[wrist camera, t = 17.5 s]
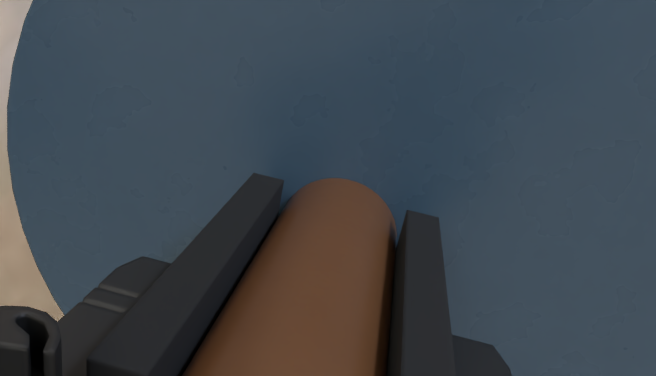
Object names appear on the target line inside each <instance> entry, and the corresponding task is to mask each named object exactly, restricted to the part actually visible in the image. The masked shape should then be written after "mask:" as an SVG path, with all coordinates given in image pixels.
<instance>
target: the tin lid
mask: <svg viewBox="0 0 656 376" xmlns="http://www.w3.org/2000/svg"><path fill="white" fill-rule="evenodd" d="M7 150H8V157H9V165H10V173H11V180H12V188H13V193H14V197H15V201H16V205H17V208H18V212H19V216H20V220H21V224H22V228H23V231H24V234H25V236H26V239H27V241H28V244H29V247H30V249H31V252H32V254H33V257H34V260H35V262H36V265H37V267H38V269H39V271H40V273H41V275H42V277H43V279H44V281H45V282H46V284H47V286H48V288H49V290H50V292H51V294H52V296H53V298H54V300H55V301H56V303H57V304H58V306H59V307H60V309H61V311H62V312H63V314H64V315H66V314H67V313H68V312H69V311H70V310H71V309H72V308H73V307H74V306H75V305H77V304H78V303H79V302H82V301H83V298H84V297H85V296H86V295H87V294H89V293H90V292H91V291H92V290H93V289H94V288H95V287H96V288H98V286H99V283H101V282H102V281H103V280H104V279H105V278H106V277H107V276H108V275H109V274H110V273H111V272H113V271H114V270H115V269H116V268H117V267H119V266H121V265H123V264H126V263H128V262H130V261H133V260H135V259H137V258H139V257H142V256H144V257H148V258H152V259H156V260H160V261H164V262H168V263H171V264H172V263H173V262H174V261H175V259H176V258H177V257H178V256H179V255H180V254H181V253H182V252H183V251H184V249H185V248H186V247H187V246H188V245H189V244H190V243H191V242H192V241H193V239H194V238H195V237H196V236H197V235H198V234H199V233H200V232H201V231H202V229H203V228H204V227H205V226H206V225H207V224H208V223H209V222H210V221H211V219H212V218H213V217H214V216H215V215H216V214H217V213H218V212H219V211H220V209H221V208H222V207H223V206H224V205H225V204H226V203H227V202H228V201H229V200H230V198H231V197H232V196H233V195H234V194H235V193H236V192H237V191H238V190H239V188H240V187H241V186H242V185H243V184H244V183H245V182H246V181H247V180H248V178H249V177H250V176H251V175H252V174H253V173H257V174H261V175H265V176H270V177H274V178H278V179H282V180H284V184H283V190H282V196H281V202H280V208H279V214H278V219H277V220H276V222H275V224H274V225H273V227H272V229H271V230H270V232H269V234H268V235H267V237H266V238H265V240H264V242H263V243H262V245H261V247H260V248H259V250H258V252H257V253H256V255H255V257H254V258H253V260H252V261H251V263H250V265H249V266H248V268H247V270H246V271H245V273H244V275H243V276H242V278H241V280H240V281H239V283H238V284H237V286H236V288H235V289H234V291H233V293H232V294H231V296H230V298H229V299H228V301H227V302H226V304H225V306H224V307H223V309H222V311H221V312H220V314H219V316H218V317H217V319H216V321H215V322H214V324H213V325H212V327H211V329H210V330H209V332H208V334H207V335H206V337H205V339H204V340H203V342H202V344H201V345H200V347H199V348H198V350H197V352H196V353H195V355H194V357H193V358H192V360H191V362H190V363H189V365H188V366H187V368H186V370H185V371H184V373H183V375H182V376H386V375H387V361H388V347H389V333H390V319H391V306H392V292H393V278H394V264H395V250H396V247H397V243H398V240H399V236H400V233H401V229H402V225H403V222H404V218H405V215H406V211H407V210H410V211H414V212H419V213H423V214H427V215H431V216H435V217H439V223H440V232H441V241H442V250H443V259H444V269H445V278H446V287H447V296H448V305H449V314H450V323H451V333H452V335H456V336H460V337H464V338H467V339H471V340H475V341H479V342H483V343H487V344H490V345H493V346H494V347H495V349H496V350H497V351H498V353H499V354H500V356H501V357H502V358H503V360H504V361H505V362H506V364H507V365H508V367H509V368H510V371H511V375H512V376H656V0H33V2H32V4H31V6H30V9H29V11H28V13H27V16H26V18H25V21H24V24H23V28H22V32H21V35H20V39H19V43H18V46H17V50H16V54H15V57H14V61H13V66H12V74H11V82H10V89H9V97H8V105H7Z"/></svg>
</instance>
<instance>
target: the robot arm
mask: <svg viewBox="0 0 656 376" xmlns="http://www.w3.org/2000/svg"><path fill="white" fill-rule="evenodd" d="M283 184H284V180H282V179H278V178H274V177H270V176H265V175H261V174H257V173H253V174H252V175H251V176H250V177H249V178H248V180H247V181H246V182H245V183H244V184H243V185H242V186H241V187H240V188H239V190H238V191H237V192H236V193H235V194H234V195H233V196H232V197H231V198H230V200H229V201H228V202H227V203H226V204H225V205H224V206H223V207H222V208H221V209H220V211H219V212H218V213H217V214H216V215H215V216H214V217H213V218H212V219H211V221H210V222H209V223H208V224H207V225H206V226H205V227H204V228H203V229H202V231H201V232H200V233H199V234H198V235H197V236H196V237H195V238H194V239H193V241H192V242H191V243H190V244H189V245H188V246H187V247H186V248H185V249H184V251H183V252H182V253H181V254H180V255H179V256H178V257H177V258H176V259H175V261H174V262H173V263H172V264H171V263H168V262H164V261H160V260H156V259H152V258H148V257H144V256H142V257H139V258H137V259H135V260H133V261H130V262H128V263H126V264H123V265H121V266H119V267H117V268H116V269H115V270H114V271H113V272H111V273H110V274H109V275H108V276H107V277H106V278H105V279H104V280H103V281H102V282H101V283H99V286H98V288H96V287H95V288H94V289H93V290H92V291H91V292H90V293H89V294H87V295H86V296H85V297H84V298H83V301H82V302H79V303H78V304H77V305H75V306H74V307H73V308H72V309H71V310H70V311H69V312H68V313H67V314H66V315H65V316H63V317H62V318H61V319H60V320H59V321H58V322H57V321H55V320H54V319H53V318H52V317H51V316H50V315H49V314H48V313H46V312H43V311H40V310H37V309H34V308H30V307H24V306H0V376H182V375H183V373H184V371H185V370H186V368H187V366H188V365H189V363H190V362H191V360H192V358H193V357H194V355H195V353H196V352H197V350H198V348H199V347H200V345H201V344H202V342H203V340H204V339H205V337H206V335H207V334H208V332H209V330H210V329H211V327H212V325H213V324H214V322H215V321H216V319H217V317H218V316H219V314H220V312H221V311H222V309H223V307H224V306H225V304H226V302H227V301H228V299H229V298H230V296H231V294H232V293H233V291H234V289H235V288H236V286H237V284H238V283H239V281H240V280H241V278H242V276H243V275H244V273H245V271H246V270H247V268H248V266H249V265H250V263H251V261H252V260H253V258H254V257H255V255H256V253H257V252H258V250H259V248H260V247H261V245H262V243H263V242H264V240H265V238H266V237H267V235H268V234H269V232H270V230H271V229H272V227H273V225H274V224H275V222H276V220H277V219H278V214H279V208H280V202H281V196H282V190H283ZM386 376H512V375H511V371H510V368H509V367H508V365H507V364H506V362H505V361H504V360H503V358H502V357H501V356H500V354H499V353H498V351H497V350H496V349H495V347H494V346H493V345H490V344H487V343H483V342H479V341H475V340H471V339H467V338H464V337H460V336H456V335H452V333H451V323H450V314H449V305H448V296H447V287H446V278H445V269H444V259H443V250H442V241H441V232H440V223H439V217H435V216H431V215H427V214H423V213H419V212H414V211H410V210H407V211H406V215H405V218H404V222H403V225H402V229H401V233H400V236H399V240H398V243H397V247H396V250H395V264H394V278H393V292H392V306H391V319H390V333H389V347H388V361H387V375H386Z"/></svg>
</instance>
